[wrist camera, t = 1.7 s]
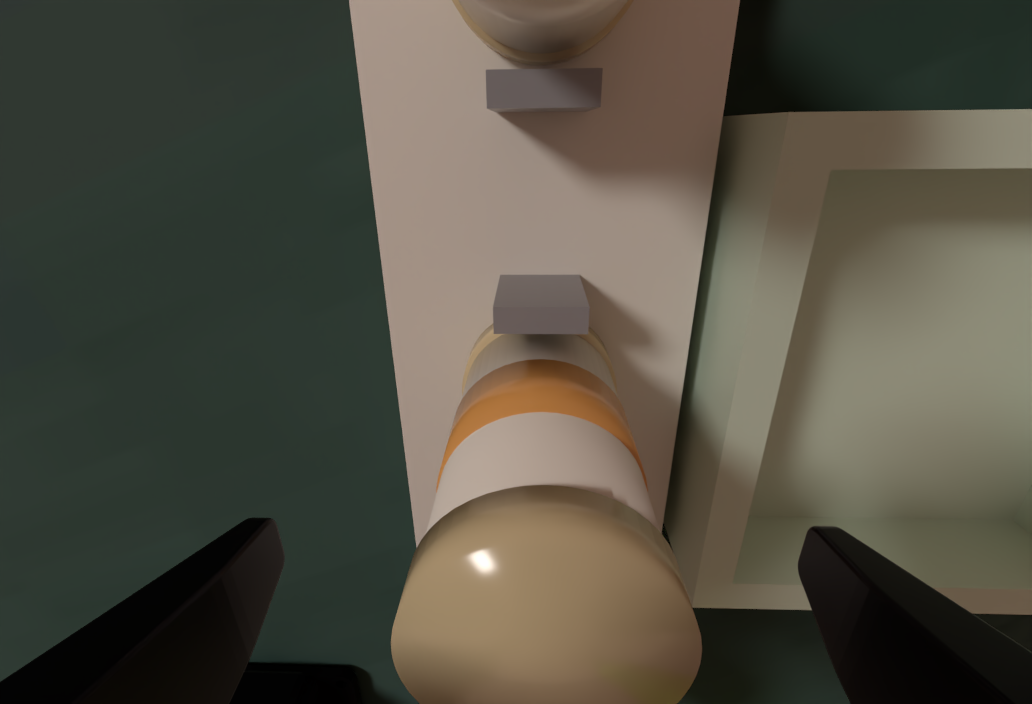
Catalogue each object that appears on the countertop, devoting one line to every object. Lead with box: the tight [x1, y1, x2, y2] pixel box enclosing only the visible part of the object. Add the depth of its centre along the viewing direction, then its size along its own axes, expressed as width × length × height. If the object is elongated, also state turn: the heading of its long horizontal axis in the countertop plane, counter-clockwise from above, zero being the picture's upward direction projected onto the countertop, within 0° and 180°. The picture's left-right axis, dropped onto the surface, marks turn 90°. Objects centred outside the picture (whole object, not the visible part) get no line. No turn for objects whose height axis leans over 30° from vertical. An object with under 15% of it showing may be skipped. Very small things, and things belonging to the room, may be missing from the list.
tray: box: [663, 109, 1032, 615], centre depth 13 cm, size 13×12×4 cm
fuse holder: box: [349, 0, 740, 547], centre depth 13 cm, size 26×8×4 cm, turn 1°
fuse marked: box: [391, 324, 702, 704], centre depth 10 cm, size 4×4×8 cm
